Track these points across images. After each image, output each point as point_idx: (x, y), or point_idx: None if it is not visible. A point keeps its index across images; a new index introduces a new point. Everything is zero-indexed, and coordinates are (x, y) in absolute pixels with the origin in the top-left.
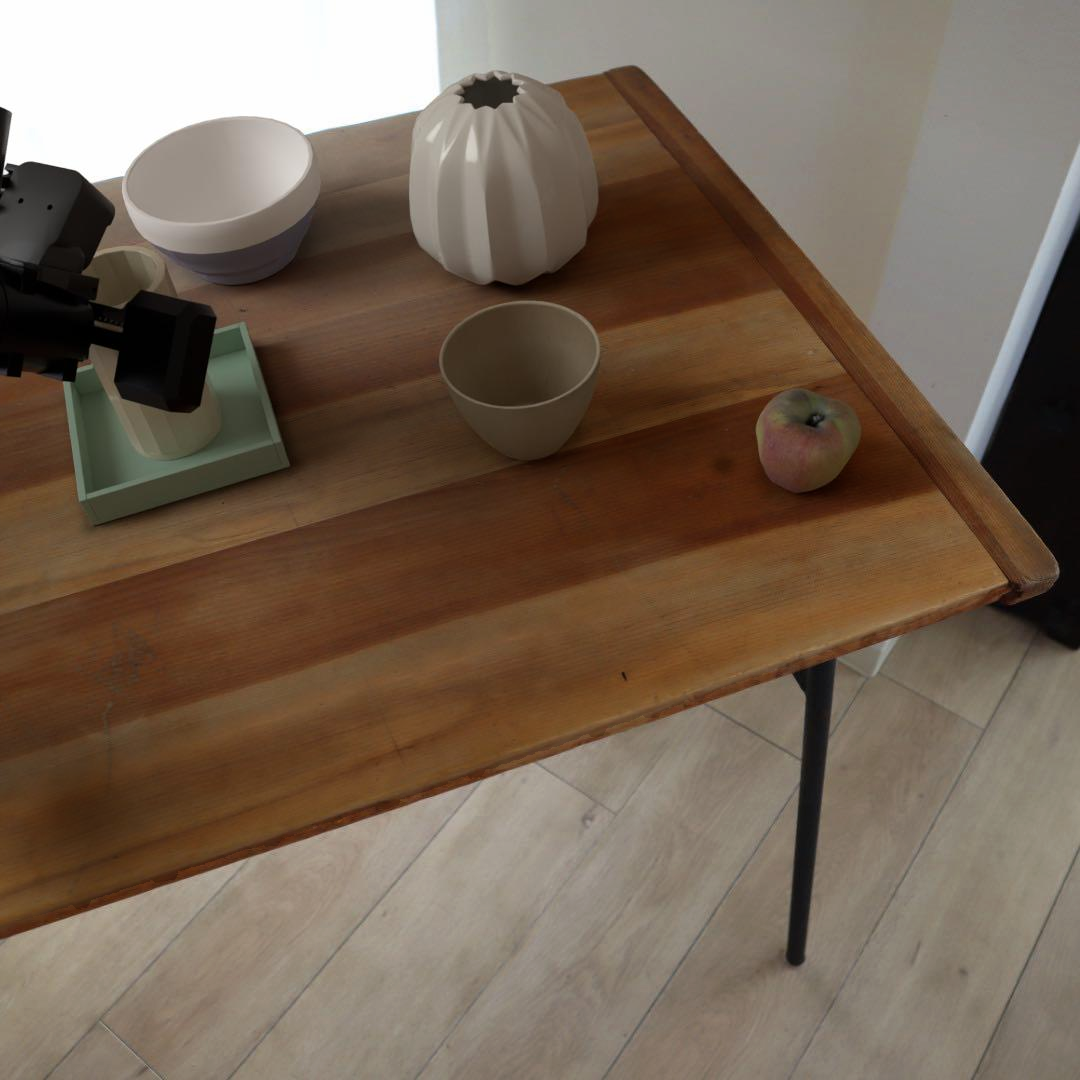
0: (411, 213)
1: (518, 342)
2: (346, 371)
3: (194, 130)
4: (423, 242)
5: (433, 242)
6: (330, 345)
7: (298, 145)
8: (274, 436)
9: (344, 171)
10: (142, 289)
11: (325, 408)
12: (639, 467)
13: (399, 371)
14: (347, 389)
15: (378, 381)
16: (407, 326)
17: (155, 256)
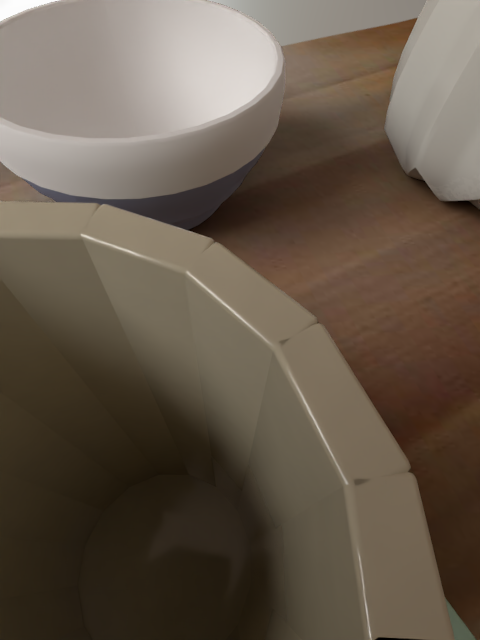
0: (441, 117)
1: None
2: (398, 370)
3: (63, 10)
4: (434, 162)
5: (464, 160)
6: (345, 323)
7: (221, 34)
8: (460, 637)
9: None
10: (88, 370)
11: (414, 456)
12: None
13: (475, 361)
14: (423, 408)
15: (459, 384)
16: (430, 281)
17: (214, 266)
